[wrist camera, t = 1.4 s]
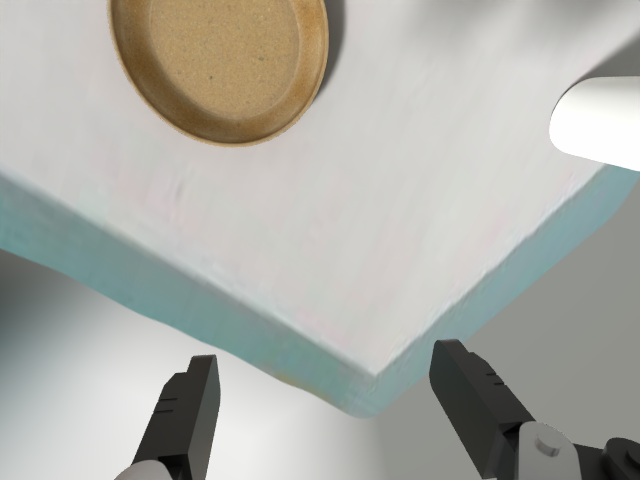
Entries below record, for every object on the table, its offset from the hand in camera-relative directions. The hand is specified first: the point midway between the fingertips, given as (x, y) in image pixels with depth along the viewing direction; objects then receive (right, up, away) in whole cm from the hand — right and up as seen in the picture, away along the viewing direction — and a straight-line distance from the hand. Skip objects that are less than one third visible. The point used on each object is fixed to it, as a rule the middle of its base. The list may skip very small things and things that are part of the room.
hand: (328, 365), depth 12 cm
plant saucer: (-7, +20, +13) cm, 25 cm away
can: (+23, +16, +18) cm, 34 cm away
